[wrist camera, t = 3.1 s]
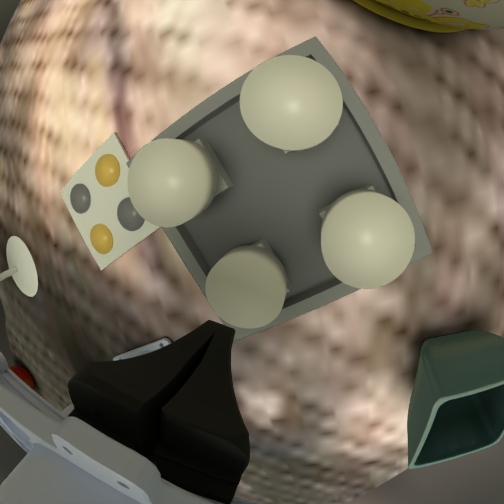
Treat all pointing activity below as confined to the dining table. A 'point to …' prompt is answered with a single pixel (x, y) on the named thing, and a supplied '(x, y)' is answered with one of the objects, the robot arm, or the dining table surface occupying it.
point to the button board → (284, 191)
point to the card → (105, 204)
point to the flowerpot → (441, 13)
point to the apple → (23, 375)
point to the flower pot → (456, 397)
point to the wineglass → (21, 266)
